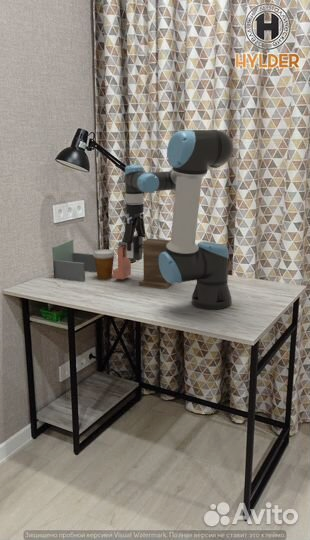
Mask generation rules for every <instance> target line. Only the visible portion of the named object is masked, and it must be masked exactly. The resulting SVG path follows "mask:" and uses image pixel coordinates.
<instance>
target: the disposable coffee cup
mask: <svg viewBox="0 0 310 540" xmlns="http://www.w3.org/2000/svg"><path fill="white" fill-rule="evenodd" d="M92 254H93V256H94V259H95V265H96V271H97V272H96V276H97V279H98V280H101V281H105V280H110V279H113V270H114V269H113V267H114V259H115V255H116V253H115V251H114V250H112V249H108V248H107V249H105V248H104V249H96V250H95V251H93V253H92Z"/></svg>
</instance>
